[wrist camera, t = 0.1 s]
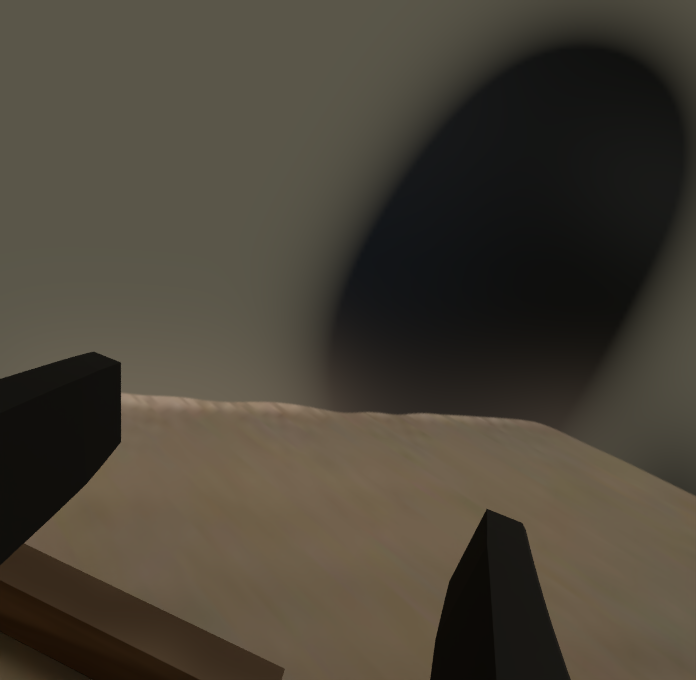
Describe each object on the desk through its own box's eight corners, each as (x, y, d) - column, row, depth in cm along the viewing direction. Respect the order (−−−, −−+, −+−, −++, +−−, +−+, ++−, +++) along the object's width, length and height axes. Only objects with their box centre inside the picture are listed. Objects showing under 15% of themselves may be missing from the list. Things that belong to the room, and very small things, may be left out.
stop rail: (251, 761, 24) (265, 712, 23) (-98, 580, 28) (-111, 525, 26) (270, 717, 26) (284, 668, 24) (-61, 552, 30) (-70, 498, 28)
